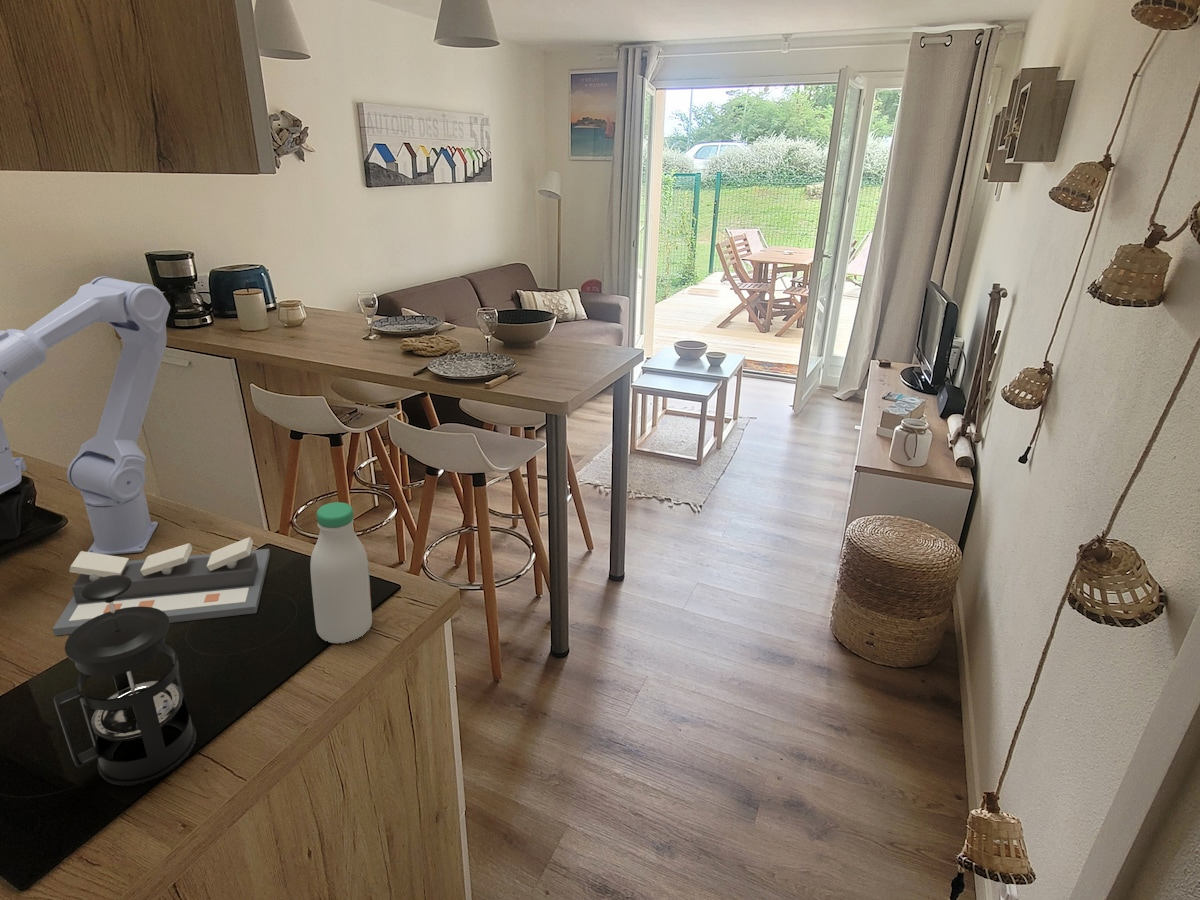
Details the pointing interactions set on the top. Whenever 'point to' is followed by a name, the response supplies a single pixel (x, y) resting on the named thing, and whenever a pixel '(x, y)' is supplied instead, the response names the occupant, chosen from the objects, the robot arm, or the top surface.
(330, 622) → the milk bottle
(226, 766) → the top surface
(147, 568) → the switch middle
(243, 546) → the switch far
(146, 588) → the switch panel
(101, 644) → the french press
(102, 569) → the switch near
